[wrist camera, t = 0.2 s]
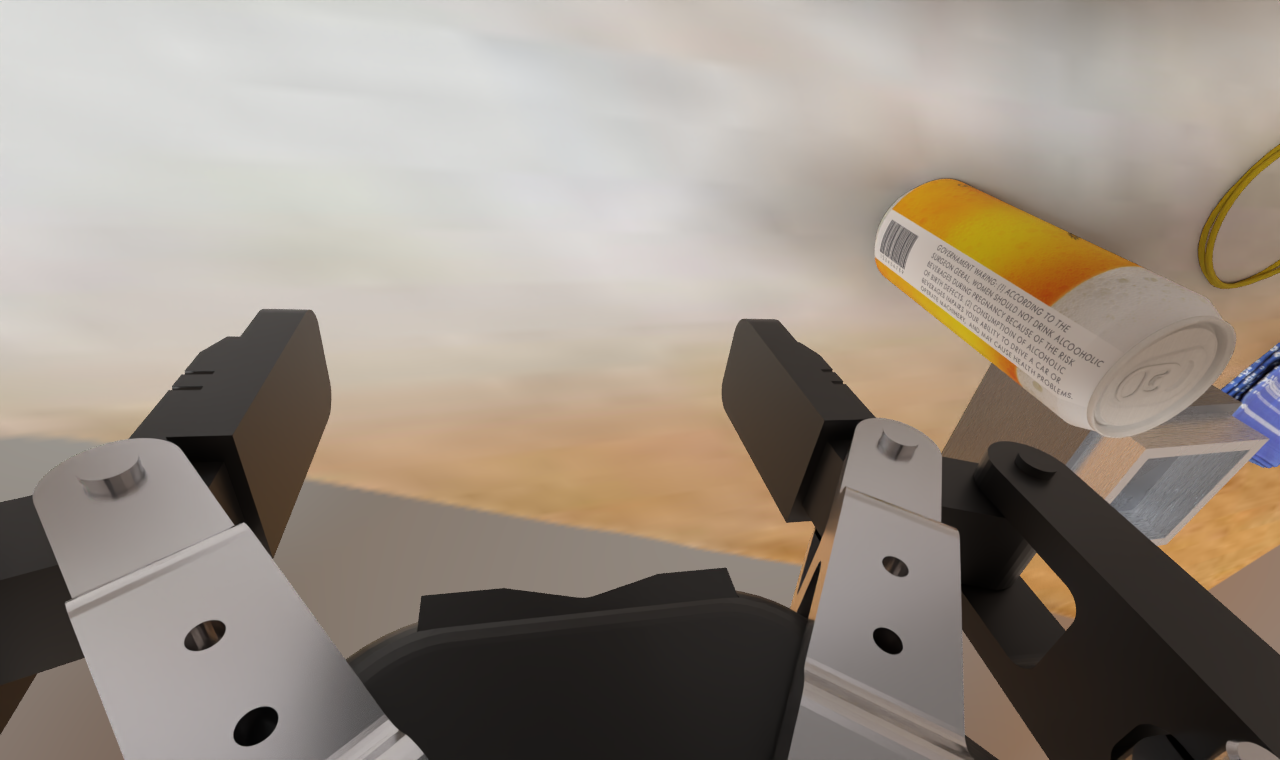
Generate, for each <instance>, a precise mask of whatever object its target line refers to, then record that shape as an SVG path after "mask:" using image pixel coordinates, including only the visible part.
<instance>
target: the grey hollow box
mask: <svg viewBox="0 0 1280 760" xmlns="http://www.w3.org/2000/svg"><path fill="white" fill-rule="evenodd" d="M1241 405H1242V402H1240V401H1238V400H1237V399H1235V398H1233V397H1231V396H1230V395H1228V394H1226V393H1225V392H1223V391H1221V390H1220V389H1218V388H1216V387H1214V386H1213V385H1211V386H1210V387H1209V388H1208V389H1207V390H1206V391H1205V392H1204V393H1203V394H1202V395H1201V396H1200V397H1199V398H1198V399H1197V400H1196V401H1194V402H1193V403H1192V404H1191V405H1190V406H1188V407H1187V408H1186V409H1184V410H1183V411H1182V412H1180V413H1179V414H1177V415H1176V416H1174V417H1172V418H1171V419H1169V420H1168V421H1166V422H1164V423H1162V424H1160V425H1158V426H1156V427H1154V428H1152V429H1150V430H1148V431H1145V432H1142V433H1140V434H1137V435H1133V436H1129V437H1123V438H1109V437H1105V436H1102V435H1100V434H1099V433H1097V432H1096V431H1092V430H1088V429H1084V428H1080V427H1076V426H1073V425H1070V424H1069V423H1067V422H1065V421H1064V420H1063V419H1062V418H1060V417H1059V416H1058V415H1057V414H1055V413H1054V412H1053V411H1052V410H1050V409H1049V408H1048V407H1047V406H1045V405H1044V404H1043V403H1042V402H1040V401H1039V400H1038V399H1037V398H1035V397H1034V396H1033V395H1032V394H1030V393H1029V392H1028V391H1027V390H1025V389H1024V388H1023V387H1022V386H1020V385H1019V384H1018V383H1017V382H1015V381H1014V380H1013V379H1012V378H1010V377H1009V376H1008V375H1007V374H1005V373H1004V372H1003V371H1002V370H1000V369H999V368H998V367H997V366H995V365H994V364H993V363H992V364H991V366H990V368H989V369H988V371H987V373H986V375H985V377H984V378H983V380H982V382H981V384H980V385H979V387H978V389H977V391H976V393H975V394H974V396H973V398H972V400H971V402H970V403H969V405H968V407H967V409H966V411H965V412H964V414H963V416H962V418H961V420H960V421H959V423H958V425H957V427H956V429H955V430H954V432H953V434H952V436H951V438H950V439H949V441H948V443H947V445H946V446H945V448H944V450H943V452H942V454H941V455H942V457H948V458H953V459H958V460H964V461H969V462H975V463H980V461H981V459H982V458H983V456H984V454H985V452H986V451H987V449H988V447H989V446H990V445H991V444H993V443H995V442H999V441H1010V442H1017V443H1021V444H1025V445H1028V446H1031V447H1034V448H1036V449H1039V450H1041V451H1043V452H1045V453H1047V454H1049V455H1051V456H1053V457H1054V458H1056V459H1058V460H1059V461H1060V462H1062V463H1063V464H1065V465H1066V466H1067V467H1068V468H1069V469H1071V470H1072V471H1073V472H1074V473H1075V474H1076V475H1077V476H1078V477H1080V478H1081V479H1082V480H1083V481H1084V482H1085V483H1086V484H1087V485H1089V486H1090V487H1091V488H1092V489H1093V490H1094V491H1095V492H1097V493H1098V494H1099V495H1100V496H1101V497H1102V498H1103V499H1104V500H1106V501H1107V502H1108V503H1109V504H1110V505H1111V506H1112V507H1113V508H1115V509H1116V510H1117V511H1118V512H1119V513H1120V514H1121V515H1122V516H1124V517H1125V518H1126V519H1127V520H1128V521H1129V522H1130V523H1132V524H1133V525H1134V526H1135V527H1136V528H1137V529H1138V530H1139V531H1141V532H1142V533H1143V534H1144V535H1145V536H1146V537H1147V538H1148V539H1150V540H1151V541H1152V542H1153V543H1154V544H1155V545H1156V546H1158V545H1166V544H1167V543H1168V542H1169V541H1170V540H1171V539H1172V538H1173V537H1174V536H1175V535H1176V534H1177V533H1178V532H1179V531H1180V530H1181V529H1182V528H1183V527H1184V526H1185V525H1186V524H1187V523H1188V522H1189V521H1190V520H1191V519H1192V518H1193V517H1194V516H1195V515H1196V514H1197V513H1198V512H1199V511H1200V510H1201V509H1202V508H1203V507H1204V505H1205V504H1206V503H1207V502H1208V501H1209V500H1210V499H1211V498H1212V497H1213V496H1214V495H1215V494H1216V493H1217V492H1218V491H1219V490H1220V489H1221V488H1222V487H1223V486H1224V485H1225V484H1226V483H1227V482H1228V481H1229V480H1230V479H1231V478H1232V477H1233V476H1234V475H1235V474H1236V473H1237V472H1238V471H1239V470H1240V469H1241V468H1242V467H1243V466H1244V465H1245V464H1246V463H1247V462H1248V461H1249V460H1250V459H1251V458H1252V457H1253V456H1254V455H1255V454H1256V452H1257V451H1258V450H1259V449H1260V448H1261V447H1262V446H1263V445H1264V444H1265V443H1266V442H1267V441H1268V440H1269V438H1268V437H1266V436H1264V435H1263V434H1261V433H1259V432H1258V431H1256V430H1254V429H1253V428H1251V427H1250V426H1248V425H1246V424H1245V423H1243V422H1241V421H1240V420H1238V419H1237V418H1235V417H1233V416H1232V414H1233V413H1234V412H1235V411H1236V410H1237V409H1238V408H1239V407H1240V406H1241Z"/></svg>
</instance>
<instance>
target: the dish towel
mask: <svg viewBox="0 0 1280 760" xmlns="http://www.w3.org/2000/svg"><path fill="white" fill-rule="evenodd" d="M1221 391H1223V392H1225V393H1226V394H1228V395H1230V396H1231V397H1233V398H1235V399H1237V400H1238V401H1240V402H1242V405H1241V406H1240V407H1239V408H1238V409H1237V410H1236V411H1235V412H1234V413H1233V414H1232V416H1233V417H1235V418H1237V419H1238V420H1240V421H1241V422H1243V423H1245V424H1246V425H1248V426H1250V427H1251V428H1253V429H1254V430H1256V431H1258V432H1259V433H1261V434H1263V435H1264V436H1266V437H1268V438H1269V440H1268V441H1267V442H1266V443H1265V444H1264V445H1263V446H1262V447H1261V448H1260V449H1259V450H1258V451H1257V452H1256V454H1255V455H1254V456H1253V457H1252V458H1251V459H1250V460H1249V461H1250V462H1252V463H1255V464H1257V465H1259V466H1261V467H1263V468H1264V467H1267V468H1271V467H1277V466H1278V465H1279V464H1280V343H1278V344H1277V345H1276V346H1274V347H1273V348H1272V349H1271V350H1269V351H1268V352H1267V353H1266V354H1264V355H1263V356H1262V357H1261V358H1260V359H1258V360H1257V361H1256V362H1254V363H1253V364H1252V365H1251V366H1249V367H1248V368H1247V369H1245V370H1244V371H1243V372H1242V373H1240V374H1239V375H1238V376H1237V377H1236V378H1235V379H1234V380H1232V381H1231V382H1230V383H1229V384H1227V385H1226V386H1225V387H1223V388H1222V389H1221Z"/></svg>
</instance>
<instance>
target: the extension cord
mask: <svg viewBox="0 0 1280 760" xmlns="http://www.w3.org/2000/svg"><path fill="white" fill-rule="evenodd" d="M1279 157H1280V144H1279V145H1278V146H1276V147H1275V148H1274V149H1272V150H1271V151H1270V152H1268V153H1267V154H1266V155H1265V156H1264V157H1263V158H1262V159H1260V160H1259V161H1258V162H1257V163H1256V164H1255V165H1254V166H1252V167H1251V168H1250V169H1249V170H1248V171H1247V172H1246V173H1245V174H1244V175H1243V177H1242V178H1241V179H1240V180H1239V181H1238V182H1237V183H1236V184H1235V185H1234V186H1233V187H1232V188H1231V189H1230V190H1229V191H1228V192H1227V193H1226V194H1225V195H1224V197H1223V198H1222V199H1221V201H1220V202H1219V203H1218V205H1217V206H1216V207H1215V209H1214V210H1213V211H1212V213H1211V215H1210V217H1209V218H1208V220H1207V222H1206V224H1205V226H1204V228H1203V230H1202V234H1201V238H1200V241H1199V246H1198V258H1199V264H1200V267H1201V270H1202V272H1203V274H1204V275H1205V277H1206V278H1207V280H1208V281H1209V283H1210V284H1211V285H1213V286H1214V287H1217V288H1221V289H1230V288H1238V287H1242V286H1246V285H1249V284H1252V283H1255V282H1257V281H1260V280H1263V279H1265V278H1268V277H1271V276H1273V275H1275V274H1278V273H1280V267H1279V268H1277V269H1275V268H1276V267H1278V266H1279V265H1280V260H1278V261H1277V262H1275V263H1274V264H1273V265H1271V266H1269V267H1268V268H1266V269H1265V270H1263V271H1261V272H1259V273H1258V274H1256V275H1254V276H1252V277H1250V278H1247V279H1245V280H1242V281H1239V282H1236V283H1231V284H1227V283H1223V282H1222V281H1220V280H1219V278H1218V277H1217V276H1216V274H1215V271H1214V269H1213V262H1212V258H1213V248H1214V243H1215V240H1216V237H1217V234H1218V231H1219V229H1220V226H1221V224H1222V222H1223V220H1224V218H1225V216H1226V214H1227V212H1228V211H1229V209H1230V208H1231V206H1232V205H1233V203H1234V201H1235V200H1236V199H1237V198H1238V196H1239V195H1240V194H1241V192H1242V191H1243V190H1244V189H1245V188H1246V186H1247V185H1248V184H1249V183H1250V182H1251V181H1252V180H1253V179H1254V178H1255V177H1256V176H1257V175H1258V174H1259V173H1260V172H1261V171H1263V170H1264V169H1265V168H1266V167H1267V166H1269V165H1270V164H1271V163H1272V162H1274V161H1275V160H1276V159H1278V158H1279ZM1221 209H1222V210H1221ZM1219 212H1220V213H1219ZM1218 213H1219V215H1218ZM1217 215H1218V217H1217ZM1216 217H1217V219H1216ZM1215 219H1216V221H1215ZM1214 221H1215V223H1214ZM1213 223H1214V225H1213V228H1212V230H1211V233H1210V236H1209V239H1208V242H1207V247H1206V253H1205V244H1206V240H1207V237H1208V233H1209V230H1210V228H1211V226H1212V224H1213ZM1273 269H1275V270H1273Z"/></svg>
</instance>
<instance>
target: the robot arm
mask: <svg viewBox="0 0 1280 760" xmlns="http://www.w3.org/2000/svg"><path fill="white" fill-rule="evenodd" d="M832 370H833V369H832V368H831V367H830V366H829V365H828V364H827V363H826V362H825V360H824V359H823V358H822V357H821V356H820V355H819V354H817V353H816V352H814V351H813V350H811V349H809V348H808V347H806V346H805V345H803V344H801V343H800V342H797V341H796V340H795V339H794V338H793V336H792V335H791V334H790V333H789V332H788V331H787V329H786V328H785V327H784V326H783V325H782V324H781V322H779V321H778V320H775V319H742V320H740V321H739V323H738V324H737V326H736V329H735V333H734V337H733V341H732V345H731V349H730V353H729V357H728V362H727V366H726V370H725V374H724V378H723V383H722V401H723V406H724V409H725V411H726V413H727V415H728V417H729V419H730V421H731V422H732V424H733V426H734V428H735V430H736V431H737V433H738V435H739V437H740V439H741V441H742V442H743V444H744V446H745V448H746V450H747V452H748V453H749V455H750V457H751V459H752V461H753V463H754V464H755V466H756V468H757V470H758V472H759V473H760V475H761V477H762V479H763V481H764V483H765V484H766V486H767V488H768V490H769V492H770V494H771V495H772V497H773V499H774V501H775V503H776V505H777V506H778V508H779V510H780V512H781V514H782V515H783V517H784V519H785V521H786V523H789V522H802V521H812V522H813V524H814V526H815V528H814V531H813V533H812V535H811V538H810V540H809V544H808V547H807V551H806V554H805V558H804V561H803V564H802V568H801V571H800V575H799V578H798V582H797V586H796V589H795V592H794V596H793V599H792V603H791V606H790V608H787V607H785V606H783V605H781V604H779V603H776V602H774V601H772V600H769V599H766V598H763V597H761V596H757V595H753V594H749V593H745V592H740V591H735V588H734V586H733V584H732V581H731V578H730V576H729V573H728V571H727V568H717V569H707V570H696V571H687V572H686V571H685V572H675V573H663V574H657V575H654V576H651V577H648V578H645V579H642V580H640V581H637V582H634V583H631V584H628V585H625V586H622V587H619V588H616V589H613V590H610V591H608V592H605V593H602V594H599V595H596V596H593V597H588V598H576V597H568V596H561V595H552V594H545V593H537V592H529V591H521V590H513V589H505V588H502V589H491V590H480V591H469V592H459V593H448V594H437V595H426V596H422V597H421V604H420V613H419V621H418V622H417V623H414V624H411V625H408V626H406V627H403V628H400V629H398V630H396V631H394V632H391V633H389V634H387V635H385V636H383V637H381V638H379V639H377V640H376V641H374V642H372V643H370V644H368V645H367V646H365V647H363V648H362V649H360V650H359V651H357V652H356V653H354V654H353V655H351V656H350V657H349V658H347V659H346V660H345V658H344V657H343V656H342V654H341V653H340V652H339V650H338V649H337V648H336V646H335V645H334V643H333V642H332V640H331V639H330V638H329V636H328V635H327V634H326V632H325V631H324V629H323V628H322V627H321V625H320V624H319V623H318V621H317V620H316V618H315V617H314V616H313V614H312V613H311V612H310V610H309V609H308V607H307V606H306V605H305V604H304V602H303V601H302V599H301V598H300V596H299V595H298V594H297V592H296V591H295V590H294V588H293V587H292V585H291V584H290V583H289V581H288V580H287V579H286V577H285V576H284V574H283V573H282V572H281V570H280V569H279V567H278V566H277V565H276V563H275V562H274V561H273V558H274V555H275V553H276V550H277V548H278V545H279V543H280V540H281V538H282V535H283V533H284V530H285V528H286V525H287V522H288V520H289V517H290V515H291V512H292V510H293V507H294V505H295V502H296V500H297V497H298V495H299V492H300V490H301V487H302V485H303V482H304V479H305V477H306V474H307V472H308V469H309V467H310V464H311V462H312V459H313V457H314V454H315V452H316V449H317V447H318V444H319V441H320V439H321V436H322V434H323V431H324V429H325V426H326V424H327V421H328V418H329V415H330V410H331V386H330V380H329V375H328V370H327V365H326V360H325V355H324V350H323V345H322V340H321V335H320V330H319V325H318V321H317V318H316V316H315V314H314V312H313V311H312V310H293V309H262V310H260V311H259V312H258V314H257V315H256V316H255V318H254V319H253V320H252V322H251V323H250V325H249V326H248V327H247V329H246V330H245V331H244V333H243V334H242V335H241V337H226V338H224V339H222V340H221V341H219V342H217V343H215V344H214V345H212V346H210V347H208V348H207V349H205V350H203V351H202V352H200V353H199V354H198V355H197V357H196V358H195V359H194V360H193V362H192V363H191V364H190V365H189V366H188V368H187V369H186V370H185V375H181V376H180V377H179V379H178V380H177V381H176V382H175V383H174V385H173V386H172V390H169V391H168V392H167V393H166V394H165V395H164V397H163V398H162V399H161V400H160V402H159V403H158V404H157V405H156V406H155V408H154V409H153V410H152V411H151V412H150V414H149V415H148V416H147V417H146V419H145V420H144V421H143V422H142V423H141V425H140V426H139V427H138V428H137V429H136V431H135V432H134V433H133V434H132V435H131V437H130V438H129V439H127V440H120V441H115V442H111V443H107V444H103V445H100V446H96V447H94V448H91V449H88V450H85V451H83V452H81V453H79V454H76V455H74V456H72V457H70V458H68V459H66V460H65V461H63V462H61V463H60V464H58V465H57V466H55V467H54V468H53V469H51V470H50V471H49V472H48V473H47V474H45V475H44V476H43V478H41V480H40V481H39V482H38V483H37V485H36V487H35V489H34V492H33V495H31V496H27V497H23V498H18V499H14V500H9V501H4V502H0V734H1V733H2V731H3V729H4V727H5V726H6V725H7V723H8V721H9V719H10V718H11V716H12V714H13V713H14V711H15V710H16V708H17V706H18V705H19V703H20V701H21V700H22V698H23V696H24V695H25V693H26V691H27V690H28V688H29V686H30V684H31V683H32V681H33V680H34V678H35V676H36V675H37V673H40V672H43V671H45V670H49V669H52V668H55V667H57V666H60V665H64V664H66V663H70V662H73V661H76V660H79V659H82V658H85V659H86V662H87V664H88V667H89V670H90V672H91V675H92V677H93V680H94V682H95V685H96V688H97V690H98V693H99V695H100V698H101V700H102V703H103V706H104V708H105V711H106V713H107V716H108V718H109V721H110V724H111V726H112V729H113V731H114V734H115V736H116V739H117V741H118V744H119V747H120V749H121V752H122V754H123V757H124V760H998V759H997V758H996V757H994V756H993V755H992V754H990V753H989V752H987V751H986V750H985V749H983V748H982V747H981V746H979V745H978V744H977V743H975V742H974V741H972V740H971V739H970V738H969V737H967V736H966V735H965V729H964V689H963V651H962V649H963V648H962V630H963V631H964V633H965V634H966V636H967V637H968V639H969V640H970V642H971V643H972V645H973V646H974V648H975V649H976V651H977V652H978V654H979V655H980V657H981V658H982V660H983V661H984V663H985V664H986V666H987V667H988V669H989V670H990V672H991V673H992V675H993V676H994V678H995V679H996V680H997V682H998V684H999V685H1000V687H1001V688H1002V689H1003V691H1004V693H1005V694H1006V696H1007V697H1008V699H1009V700H1010V702H1011V703H1012V704H1013V706H1014V707H1015V709H1016V711H1017V712H1018V713H1019V715H1020V716H1021V718H1022V719H1023V721H1024V722H1025V724H1026V725H1027V727H1028V728H1029V730H1030V731H1031V733H1032V734H1033V736H1034V737H1035V739H1036V740H1037V742H1038V743H1039V745H1040V746H1041V748H1042V749H1043V751H1044V752H1045V754H1046V755H1047V757H1048V758H1049V760H1280V655H1279V654H1278V653H1277V652H1276V651H1275V650H1274V649H1273V648H1272V647H1270V646H1269V645H1268V644H1267V643H1266V642H1265V641H1264V640H1262V639H1261V638H1260V637H1259V636H1258V635H1257V634H1256V633H1254V632H1253V631H1252V630H1251V629H1250V628H1249V627H1248V626H1247V625H1246V624H1244V623H1243V622H1242V621H1241V620H1240V619H1239V618H1238V617H1237V616H1235V615H1234V614H1233V613H1232V612H1231V611H1230V610H1229V609H1227V608H1226V607H1225V606H1224V605H1223V604H1222V603H1221V602H1219V601H1218V600H1217V599H1216V598H1215V597H1214V596H1213V595H1211V593H1209V592H1208V591H1207V590H1206V589H1205V588H1204V587H1203V586H1202V585H1200V584H1199V583H1198V582H1197V581H1196V580H1195V579H1194V578H1192V577H1191V576H1190V575H1189V574H1188V573H1187V572H1186V571H1185V570H1183V569H1182V568H1181V567H1180V566H1179V565H1178V564H1177V563H1176V562H1174V561H1173V560H1172V559H1171V558H1170V557H1169V556H1168V555H1167V554H1165V553H1164V552H1163V551H1162V550H1161V549H1160V548H1159V547H1157V546H1156V545H1155V544H1154V543H1153V542H1152V541H1151V540H1150V539H1148V538H1147V537H1146V536H1145V535H1144V534H1143V533H1142V532H1141V531H1139V530H1138V529H1137V528H1136V527H1135V526H1134V525H1133V524H1132V523H1130V522H1129V521H1128V520H1127V519H1126V518H1125V517H1124V516H1122V515H1121V514H1120V513H1119V512H1118V511H1117V510H1116V509H1115V508H1113V507H1112V506H1111V505H1110V504H1109V503H1108V502H1107V501H1106V500H1104V499H1103V498H1102V497H1101V496H1100V495H1099V494H1098V493H1097V492H1095V491H1094V490H1093V489H1092V488H1091V487H1090V486H1089V485H1087V484H1086V483H1085V482H1084V481H1083V480H1082V479H1081V478H1080V477H1078V476H1077V475H1076V474H1075V473H1074V472H1073V471H1072V470H1071V469H1069V468H1068V467H1067V466H1066V465H1065V464H1063V463H1062V462H1060V461H1059V460H1058V459H1056V458H1054V457H1053V456H1051V455H1049V454H1047V453H1045V452H1043V451H1041V450H1039V449H1036V448H1034V447H1031V446H1028V445H1025V444H1021V443H1017V442H1010V441H999V442H995V443H993V444H991V445H990V446H989V447H988V449H987V451H986V452H985V454H984V456H983V458H982V459H981V461H980V463H975V462H969V461H964V460H958V459H953V458H948V457H942V455H941V452H940V450H939V448H938V447H937V445H936V444H935V443H934V442H933V441H932V440H931V439H930V438H929V437H928V436H926V435H925V434H923V433H922V432H920V431H919V430H917V429H915V428H913V427H911V426H909V425H907V424H904V423H901V422H898V421H895V420H891V419H885V418H876V417H875V416H874V415H873V414H872V413H871V412H870V411H869V410H868V409H867V407H866V406H865V405H864V404H863V403H862V402H861V401H860V400H859V398H858V397H857V396H856V395H855V394H854V393H853V392H852V391H851V390H850V388H849V387H848V386H847V385H846V384H843V381H842V379H841V378H840V377H839V376H838V375H837V374H836V373H835V372H832ZM1036 553H1038V554H1039V555H1040V557H1041V558H1042V559H1043V560H1044V561H1045V562H1046V563H1047V564H1048V566H1049V567H1050V568H1051V569H1052V570H1053V571H1054V572H1055V573H1056V574H1057V576H1058V577H1059V578H1060V579H1061V580H1062V581H1063V582H1064V583H1065V584H1066V586H1067V587H1068V588H1069V590H1070V591H1071V593H1072V595H1073V597H1074V600H1075V604H1076V617H1075V620H1074V622H1073V623H1072V625H1071V626H1070V627H1069V628H1068V629H1067V630H1066V631H1065V630H1064V628H1063V627H1062V626H1061V625H1060V624H1059V622H1058V621H1057V620H1056V619H1055V618H1054V616H1053V615H1052V614H1051V613H1050V612H1049V610H1048V609H1047V608H1046V607H1045V606H1044V604H1043V603H1042V602H1041V601H1040V600H1039V598H1038V597H1037V596H1036V595H1035V594H1034V592H1033V591H1032V590H1031V589H1030V588H1029V586H1028V585H1027V584H1026V583H1025V582H1024V580H1023V579H1022V578H1021V577H1020V574H1021V573H1022V572H1023V570H1024V569H1025V567H1026V566H1027V565H1028V563H1029V562H1030V561H1031V559H1032V558H1033V557H1034V555H1035V554H1036Z"/></svg>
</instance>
